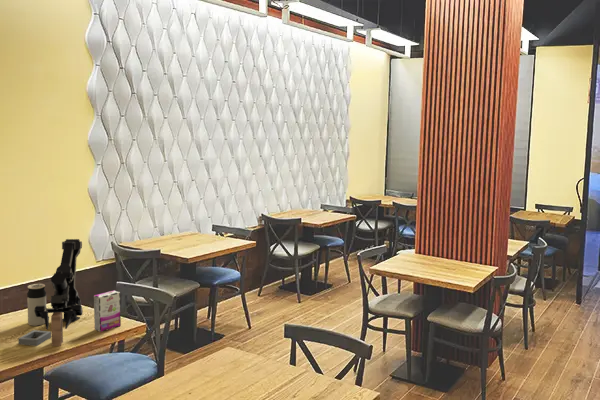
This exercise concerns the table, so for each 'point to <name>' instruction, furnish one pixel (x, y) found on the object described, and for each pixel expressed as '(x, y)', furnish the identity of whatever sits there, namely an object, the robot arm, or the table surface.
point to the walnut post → (57, 329)
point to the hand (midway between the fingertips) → (56, 328)
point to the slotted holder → (29, 337)
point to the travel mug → (35, 303)
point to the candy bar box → (107, 311)
